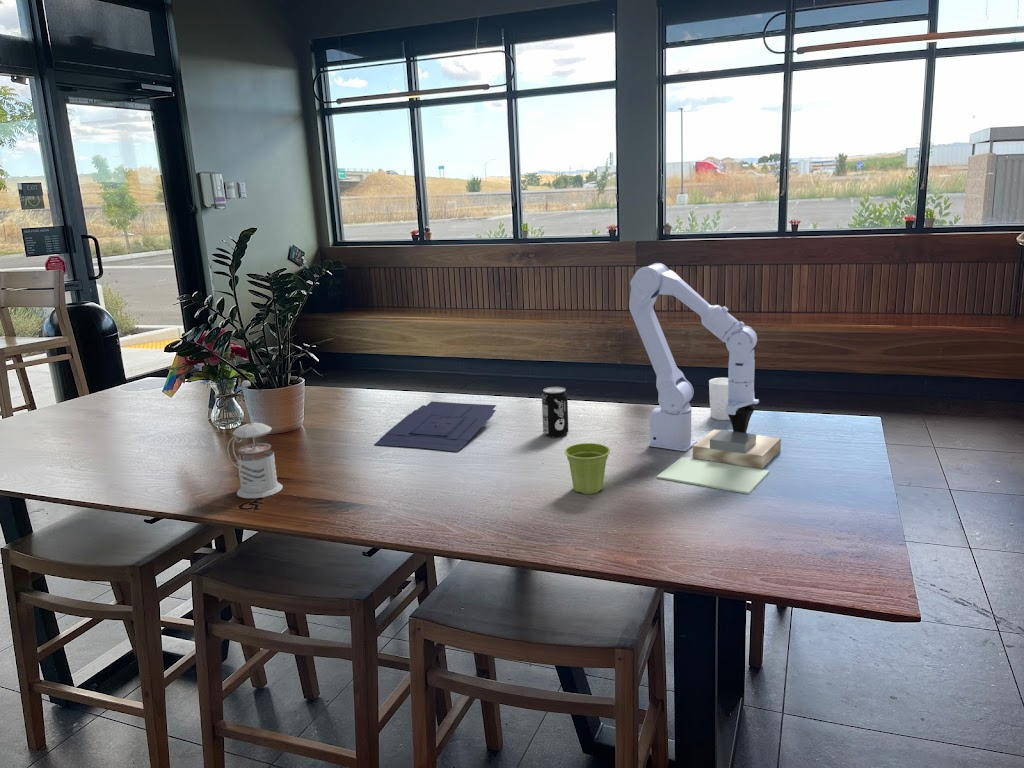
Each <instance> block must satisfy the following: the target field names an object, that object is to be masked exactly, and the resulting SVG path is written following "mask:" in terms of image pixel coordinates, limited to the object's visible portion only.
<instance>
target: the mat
mask: <svg viewBox="0 0 1024 768" xmlns="http://www.w3.org/2000/svg"><path fill="white" fill-rule="evenodd" d="M769 474H770V470H767V469H760V468H753V467H747V466H740V465H734V464H727V463H721V462H715V461H708V460H702V459H695V458H692V457H691V458H689V457H683V456H681V457H679V458H678V459H677V460H676V461H675V462H673V463H672V464H671V465H669V466H668V467H667V468H665V469H664V470H663V471H662V472H661V473H659V474H658V475H657V476H656V478H657V479H661V480H666V481H672V482H679V483H684V484H690V485H694V486H695V485H696V486H700V487H707V488H712V489H718V490H723V491H729V492H734V493H741V494H747V495H749V494H751V492H752V491H754V489H755V488H757V486H759V484H760V483H761V482H762V481H763V480H764V479H765V478H766V477H767V476H768V475H769Z"/></svg>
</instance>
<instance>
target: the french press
mask: <svg viewBox="0 0 1024 768" xmlns="http://www.w3.org/2000/svg"><path fill="white" fill-rule="evenodd" d="M241 387H243V388H244V387H245V388H246V389H245V390H246V395H247V396H246V397H247V404H248V413H249V420H250V422H249V423H246V424H243V425H241V426H239V427H237V428H236V429H234V430H233V432H232V435H233V437H232V438H230V439H229V441H228V442H227V448H226V449H227V455H228V459H229V460H230V463H231V464H232V465H233V466H234V467H236V468H237V469H238V476H239V484H240V487H239V489H238V490H237V492H236V495H237V496H238V497H239V498H244V499H258V498H265V497H270V496H273V495H274V494H275V495H276V494H277V493H278V492H280V491H281V490H282V489H283V484H281V483H280V482H278V476H277V469H276V468H277V467H276V463H275V462H276V459H275V451H273V450H271V449H272V445H271V444H269V443H263V442H262V443H261V442H260V443H255V438H257V437H263V436H265V435H267V434H270V433H271V431H272V427H271V426H269V425H267V424H264V423H260V422H252V421H253V420H252V414H251V407H250V398H249V391H248V387H251V381H250V380H248V379H247V380H243V381H242V382H241ZM238 438H240V440H239V441H238ZM243 438H245V439H248V438H252V444H246V445H243V446H240V447H239V448H238V449H237V453H238V454H239V455H236V453H235V445H234V444H235V442H236V443H241V442H242V441H243ZM232 441H233V442H232ZM231 442H232V453H233V456H234V457H235V460H236V461H237V465H236V464H235V462H233V460H232V459H231V455H230V451H229V448H230V447H229V446H230V443H231ZM263 454H264V455H267V456H264V455H263ZM241 455H242V458H241ZM259 455H263V456H259ZM256 456H259V457H257V458H255V457H256ZM242 459H243V460H242ZM243 472H244V473H243ZM244 478H245V479H244Z"/></svg>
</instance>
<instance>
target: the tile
mask: <svg viewBox="0 0 1024 768" xmlns="http://www.w3.org/2000/svg"><path fill="white" fill-rule="evenodd" d="M720 430H721V431H720V432H718V433H717V434H716V435H715V436H713V437H712V438H711V439H710V449H717V450H724V451H730V452H737V453H744V454H745V453H746V452H747V451H748V450H749V449H750V448H751V447H753V446H754V445H755V444H756V435H757V433H749V432H746V433H743V432H735V431H733V430H728V429H727V430H726V429H720Z"/></svg>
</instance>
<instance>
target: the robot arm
mask: <svg viewBox="0 0 1024 768" xmlns="http://www.w3.org/2000/svg"><path fill="white" fill-rule="evenodd" d="M629 283H630V297H629V303H628V308H629V312H630V314H631V316H632V318H633V321H634V323H635V326H636V329H637V332H638V334H639V336H640V338H641V340H642V344H643V346H644V348H645V351H646V353H647V356H648V358H649V361H650V363H651V365H652V369H653V370H654V373H655V375H656V383H655V385H656V386H655V387H656V389H657V392H658V393H657V394H658V396H657V397H658V399H657V400H658V401H657V402H658V404H659V406H660V407H655V408H653V410H652V411H651V413H650V418H649V443H648V446H649V447H654V448H659V449H665V450H666V449H667V450H673V451H678V452H679V451H680V452H686V451H688V450H689V449H691V448H693V445H694V444H696V443H697V442H698V440H697V439H692V406H691V404H690V401H691V400H692V399H693V397H694V393H695V391H694V387H693V385H692V384H691V382H690V381H689V380H688V379H686V377H685V374H684V372H683V371H682V370H681V369H679V368H678V367H677V364H676V362H675V358H674V356H673V353H672V352H671V349H670V347H669V344H668V342H667V339H666V337H665V335H664V332H663V329H662V327H661V324H660V322H659V319H658V317H657V315H656V312H655V310H654V305H655V303H656V301H657V299H658V296H659V295H662V296H663V295H664V296H665V295H666V296H673V297H675V298H676V299H677V300H679V301H681V303H682V304H684V305H686V306H687V307H688V308H690V309H691V310H692V311H693V312H694V313H696V314H698V315H699V316H700V319H701V320H700V321H701V325H702V326H703V327H704V328H705V329H707V330H708V331H709V332H711V333H712V334H713V335H714V336H715V337H717V338H718V339H719V341H721V342H723V343H725V347H726V349H727V351H728V353H729V356H728V377H727V378H728V398H727V406H726V414H728V416H729V418H730V420H729V421H730V424H731V427H732V428H731V429H732V431H735V432H743V433H747V430H748V427H749V424H750V419H751V418H752V415H753V413H754V411H755V410H756V406H755V405H757V404H759V403H760V399H758V398H757V399H756V398H755V369H756V368H755V367H756V365H755V363H756V361H755V349H754V348H755V346H756V345H757V343H758V335H757V333H756V332H755V330H754V329H753V327H752V326H749V325H745V322H743V321H739V320H738V319H737V318H736V317H734V316H733V315H732V314H730V313H729V312H728V311H729V308H728V307H726V305H724V306H721V305H720V304H714V305H711V304H710V303H708V302H707V301H706V299H704V298H703V297H702V296H701V294H699V293H698V292H697V291H695V290H694V289H693V288H692V287H691V286H690V285H689V284H688V283H687V282H686V281H684V280H683V279H682V278H681V277H680V276H679V275H678V274H677V273H676V272H675V271H673V270H672V269H669V268H668V267H667V266H666V265H665V264H663V263H660V262H655V263H652V264H650V265H648V266H642V267H640V268H638V269H637V270H636V272H635V273H634V275H633V277H632V278H631V280H630V282H629Z"/></svg>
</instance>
